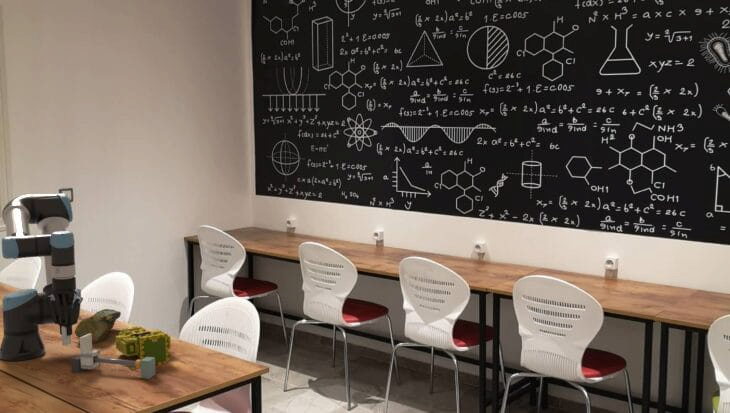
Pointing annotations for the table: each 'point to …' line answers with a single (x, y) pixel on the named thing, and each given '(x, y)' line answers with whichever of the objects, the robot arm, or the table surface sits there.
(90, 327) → the stone
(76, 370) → the rail
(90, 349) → the cream l-shaped block
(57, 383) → the table surface
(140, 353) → the toy
